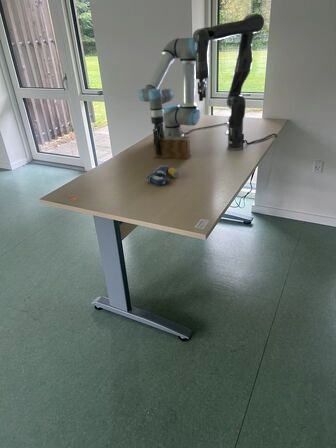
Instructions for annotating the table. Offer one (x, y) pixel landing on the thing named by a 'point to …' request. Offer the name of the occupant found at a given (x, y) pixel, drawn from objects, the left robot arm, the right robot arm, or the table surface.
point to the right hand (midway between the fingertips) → (202, 99)
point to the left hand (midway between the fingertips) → (160, 152)
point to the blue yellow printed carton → (162, 175)
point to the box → (174, 147)
